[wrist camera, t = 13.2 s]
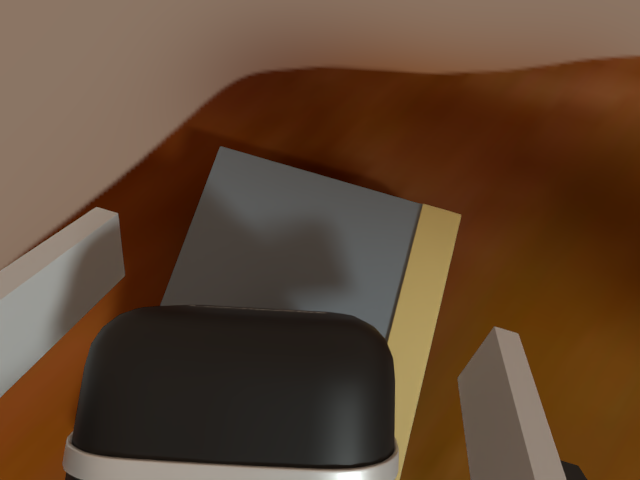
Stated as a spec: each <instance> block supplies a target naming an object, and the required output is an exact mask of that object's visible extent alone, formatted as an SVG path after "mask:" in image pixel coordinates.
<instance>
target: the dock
mask: <svg viewBox="0 0 640 480" xmlns="http://www.w3.org/2000/svg"><path fill="white" fill-rule="evenodd" d="M460 219H461V214H457V213H454V212H451V211H447V210H444V209H440V208H437V207H433V206H430V205H426V204H419V203H416V202H412V201H409V200H405V199H402V198H398V197H395V196H391V195H388V194H385V193H381V192H378V191H374V190H371V189H367V188H364V187H360V186H357V185H353V184H350V183H346V182H343V181H340V180H336V179H333V178H329V177H326V176H322V175H319V174H315V173H312V172H308V171H305V170H301V169H298V168H294V167H291V166H288V165H284V164H281V163H277V162H274V161H270V160H267V159H263V158H260V157H256V156H253V155H249V154H246V153H243V152H239V151H236V150H232V149H229V148H225V147H222V146H220V148H219V151H218V153H217V156H216V158H215V161H214V164H213V166H212V169H211V172H210V174H209V177H208V180H207V182H206V185H205V188H204V190H203V193H202V196H201V198H200V201H199V204H198V206H197V209H196V212H195V214H194V217H193V220H192V222H191V225H190V227H189V230H188V233H187V235H186V238H185V241H184V243H183V246H182V249H181V251H180V254H179V257H178V259H177V262H176V265H175V267H174V270H173V273H172V275H171V278H170V281H169V283H168V286H167V289H166V291H165V294H164V297H163V299H162V302H161V304H160V306H169V305H214V306H232V307H251V308H269V309H287V310H304V311H322V312H334V313H341V314H348V315H353V316H355V317H357V318H359V319H361V320H363V321H365V322H367V323H369V324H371V325H372V326H374V327H375V328H376V329H377V330H378V331H379V332H380V334H381V335H382V336H383V337H384V338H385V339H386V342H387V344H388V346H389V349H390V351H391V354H392V356H393V361H394V372H395V438H396V440H397V444H398V449H399V468H398V474H397V477H396V478H395V479H394V480H400V475H401V471H402V467H403V463H404V458H405V454H406V450H407V445H408V441H409V437H410V433H411V428H412V424H413V420H414V416H415V411H416V407H417V403H418V398H419V394H420V390H421V386H422V381H423V377H424V373H425V369H426V364H427V360H428V356H429V351H430V347H431V343H432V339H433V334H434V330H435V326H436V321H437V317H438V313H439V309H440V304H441V300H442V296H443V292H444V287H445V283H446V279H447V274H448V270H449V266H450V262H451V257H452V253H453V249H454V245H455V240H456V236H457V232H458V227H459V223H460Z"/></svg>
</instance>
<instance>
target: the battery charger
mask: <svg viewBox="0 0 640 480" xmlns="http://www.w3.org/2000/svg"><path fill="white" fill-rule="evenodd" d="M63 468H64V470H65V471H66V478H65V480H394V479H395V478H396V477H397V474H398V468H399V449H398V444H397V440H396V438H395V372H394V361H393V356H392V354H391V351H390V349H389V346H388V344H387V342H386V339H385V338H384V337H383V336H382V335H381V334H380V332H379V331H378V330H377V329H376V328H375V327H374V326H372V325H371V324H369V323H367V322H365V321H363V320H361V319H359V318H357V317H355V316H353V315H348V314H341V313H334V312H322V311H304V310H287V309H269V308H251V307H232V306H214V305H169V306H153V307H143V308H137V309H134V310H131V311H129V312H126V313H123V314H120V315H118V316H117V317H116V318H114V319H113V320H112V321H110V322H109V323H108V324H107V325H105V326H104V327H103V328H102V329H101V331H100V332H99V333H98V335H97V336H96V338H95V339H94V341H93V342H92V344H91V347H90V350H89V354H88V357H87V360H86V364H85V367H84V373H83V379H82V385H81V390H80V396H79V402H78V408H77V414H76V420H75V425H74V431H73V432H72V433H71V434H70V435H69V436H68V437H67V441H66V446H65V452H64V458H63Z"/></svg>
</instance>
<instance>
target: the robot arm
mask: <svg viewBox="0 0 640 480" xmlns="http://www.w3.org/2000/svg"><path fill="white" fill-rule="evenodd" d="M124 276H125V270H124V261H123V252H122V243H121V234H120V225H119V216H118V213H116V212H112V211H109V210H106V209H102V208H99V207H95V208H94V209H92V210H91V211H89V212H88V213H86V214H85V215H83V216H82V217H80V218H79V219H77V220H76V221H74V222H73V223H71V224H70V225H68V226H67V227H65V228H64V229H62V230H61V231H59V232H58V233H56V234H55V235H53V236H52V237H50V238H49V239H47V240H46V241H44V242H43V243H41V244H40V245H38V246H37V247H35V248H34V249H32V250H31V251H29V252H28V253H26V254H25V255H23V256H22V257H20V258H19V259H17V260H16V261H14V262H13V263H11V264H10V265H8V266H7V267H5V268H3V269H2V270H0V397H1V396H2V395H3V394H4V393H5V392H6V391H7V390H8V389H9V388H10V387H11V386H13V385H14V384H15V383H16V382H17V381H18V380H19V379H20V378H21V377H22V376H23V375H24V374H25V373H26V372H27V371H28V370H29V369H30V368H31V367H32V366H33V365H34V364H35V363H36V362H37V361H38V360H39V359H40V358H41V357H42V356H43V355H44V354H45V353H46V352H47V351H48V350H49V349H50V348H52V347H53V346H54V345H55V344H56V343H57V342H58V341H59V340H60V339H61V338H62V337H63V336H64V335H65V334H66V333H67V332H68V331H69V330H70V329H71V328H72V327H73V326H74V325H75V324H76V323H77V322H78V321H79V320H80V319H81V318H82V317H83V316H84V315H85V314H86V313H87V312H88V311H89V310H90V309H92V308H93V307H94V306H95V305H96V304H97V303H98V302H99V301H100V300H101V299H102V298H103V297H104V296H105V295H106V294H107V293H108V292H109V291H110V290H111V289H112V288H113V287H114V286H115V285H116V284H117V283H118V282H119V281H120V280H121V279H122V278H123V277H124ZM458 385H459V393H460V401H461V408H462V416H463V423H464V431H465V439H466V446H467V454H468V462H469V469H470V477H471V480H587V479H586V477H585V476H584V474H583V473H582V471H581V470H580V468H579V467H578V466H577V465H574V464H570V463H567V462H564V461H561V460H560V458H559V455H558V452H557V449H556V446H555V443H554V440H553V437H552V434H551V431H550V428H549V425H548V422H547V419H546V416H545V413H544V410H543V407H542V404H541V401H540V398H539V395H538V392H537V389H536V386H535V383H534V380H533V377H532V374H531V371H530V368H529V365H528V362H527V359H526V356H525V353H524V350H523V347H522V343H521V340H520V337H519V334H518V333H515V332H511V331H508V330H505V329H501V328H498V327H495V326H494V328H493V329H492V330H491V332H490V333H489V335H488V336H487V337H486V339H485V340H484V342H483V343H482V345H481V346H480V347H479V349H478V350H477V352H476V353H475V354H474V356H473V357H472V359H471V360H470V361H469V363H468V364H467V366H466V367H465V368H464V370H463V371H462V373H461V374H460V375H459V377H458Z"/></svg>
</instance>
